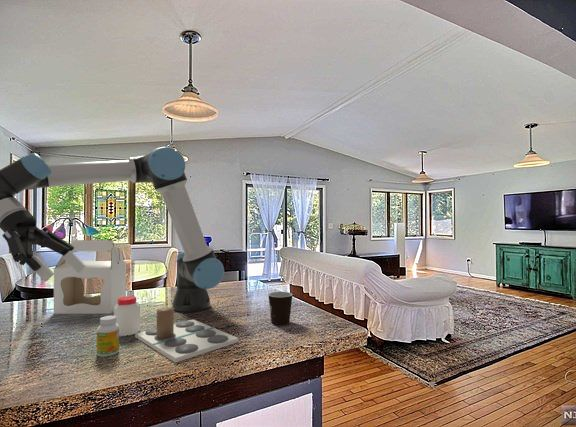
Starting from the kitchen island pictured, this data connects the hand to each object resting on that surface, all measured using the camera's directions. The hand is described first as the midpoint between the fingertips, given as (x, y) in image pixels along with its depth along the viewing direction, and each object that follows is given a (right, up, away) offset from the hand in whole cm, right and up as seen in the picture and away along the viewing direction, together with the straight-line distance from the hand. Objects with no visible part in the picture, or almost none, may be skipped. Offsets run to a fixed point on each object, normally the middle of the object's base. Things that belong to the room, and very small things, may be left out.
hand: (67, 273), depth 91 cm
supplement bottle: (+11, -22, 0) cm, 25 cm away
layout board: (+29, -22, +10) cm, 38 cm away
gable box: (-19, -23, +44) cm, 53 cm away
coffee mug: (+58, -22, +28) cm, 68 cm away
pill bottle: (+8, -22, +17) cm, 29 cm away
